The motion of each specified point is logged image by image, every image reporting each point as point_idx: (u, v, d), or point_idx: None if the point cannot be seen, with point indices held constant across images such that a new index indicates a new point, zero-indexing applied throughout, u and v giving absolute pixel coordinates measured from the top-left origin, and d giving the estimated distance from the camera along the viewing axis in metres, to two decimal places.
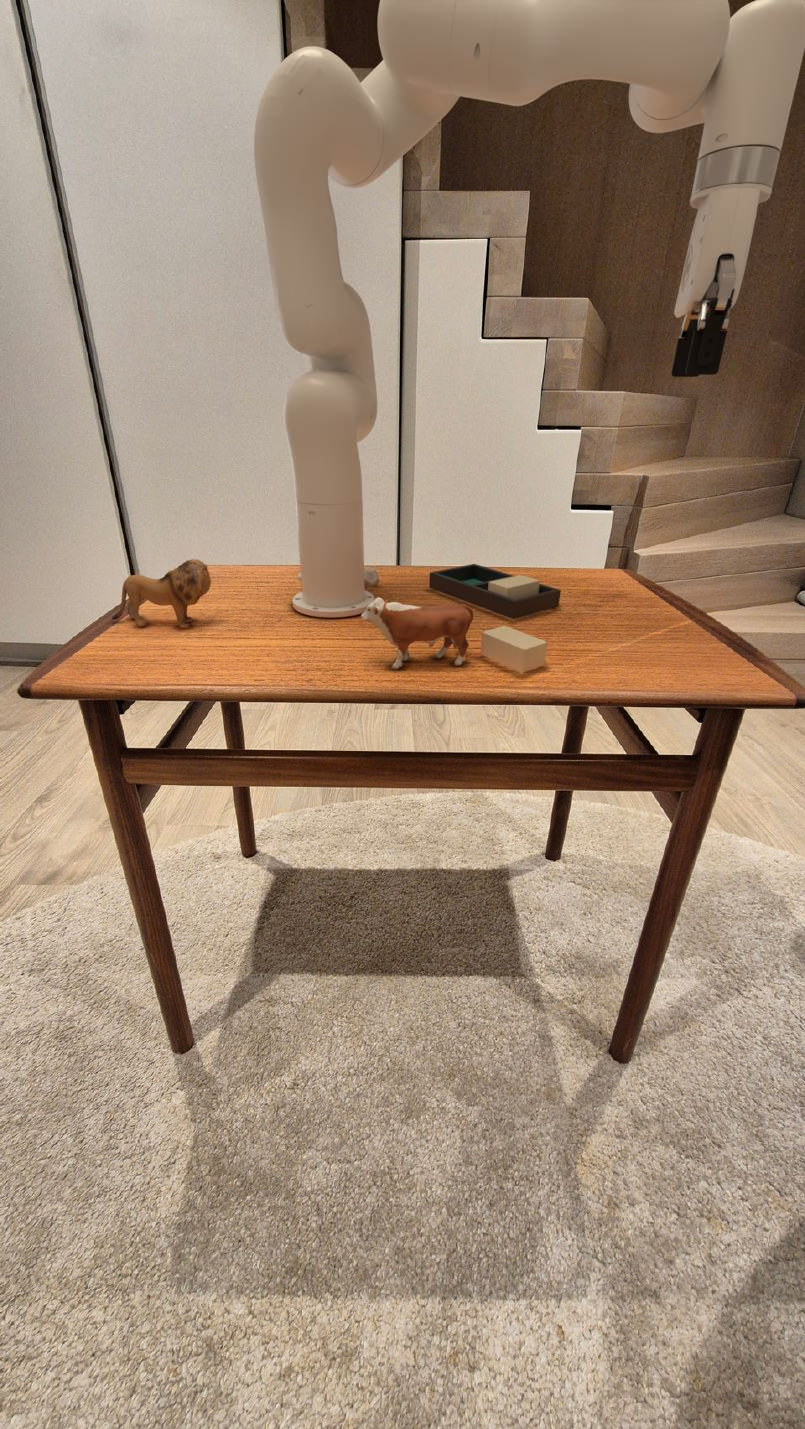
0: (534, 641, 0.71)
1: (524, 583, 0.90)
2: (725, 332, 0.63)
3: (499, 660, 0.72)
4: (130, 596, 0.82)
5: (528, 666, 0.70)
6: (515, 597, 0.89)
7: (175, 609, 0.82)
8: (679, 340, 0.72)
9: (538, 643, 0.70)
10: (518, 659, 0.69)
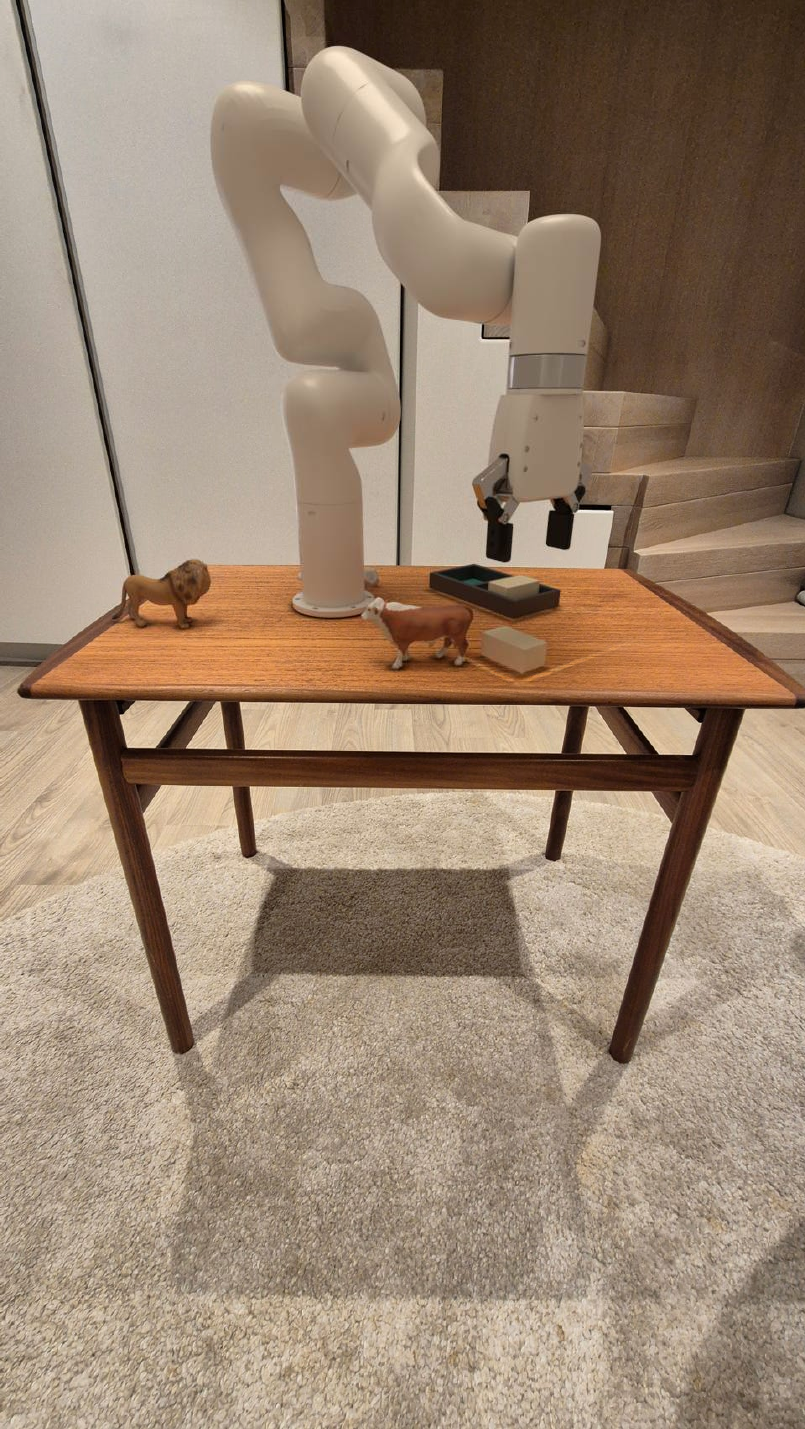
0: (534, 641, 0.71)
1: (524, 583, 0.90)
2: (508, 525, 0.61)
3: (499, 660, 0.72)
4: (130, 596, 0.82)
5: (528, 666, 0.70)
6: (515, 597, 0.89)
7: (175, 609, 0.82)
8: (549, 512, 0.69)
9: (538, 643, 0.70)
10: (518, 659, 0.69)
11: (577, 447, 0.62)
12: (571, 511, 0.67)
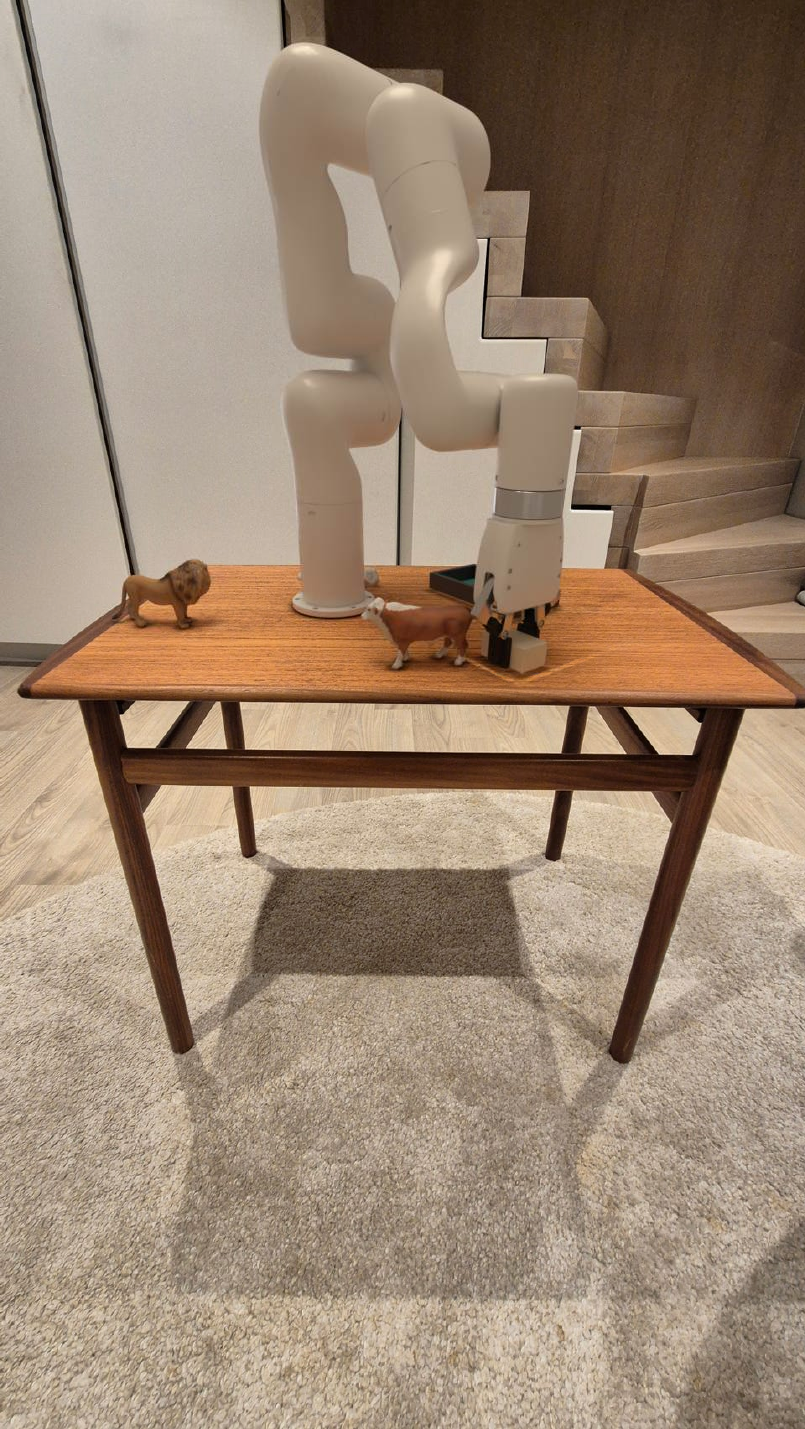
0: (534, 641, 0.71)
1: None
2: (508, 639, 0.69)
3: None
4: (130, 596, 0.82)
5: (528, 666, 0.70)
6: None
7: (175, 609, 0.82)
8: (518, 625, 0.74)
9: (538, 643, 0.70)
10: (518, 659, 0.69)
11: (557, 562, 0.68)
12: (537, 627, 0.72)
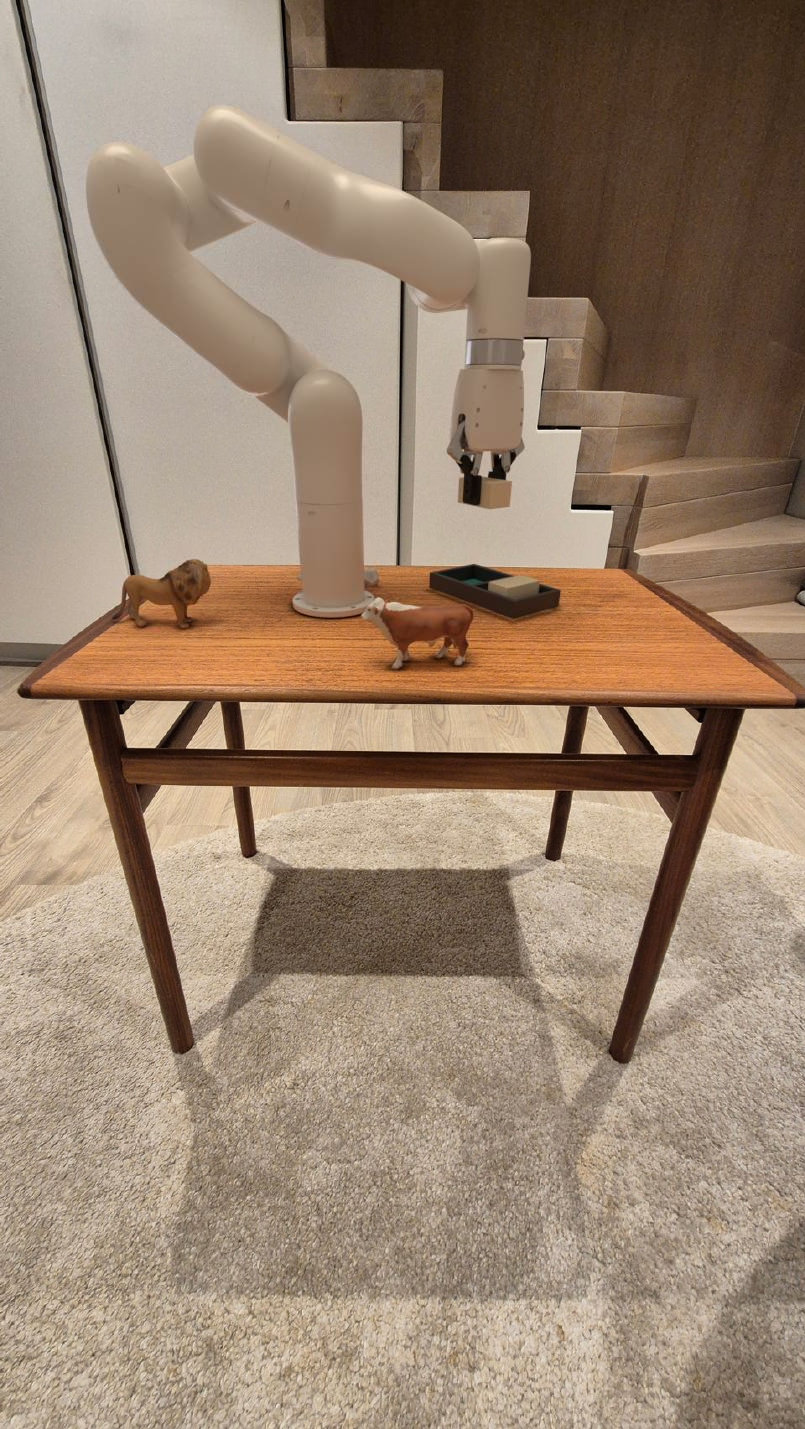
0: (500, 480, 0.85)
1: (524, 583, 0.90)
2: (478, 476, 0.84)
3: None
4: (130, 596, 0.82)
5: (495, 500, 0.85)
6: (515, 597, 0.89)
7: (175, 609, 0.82)
8: (488, 473, 0.88)
9: (504, 481, 0.84)
10: (487, 493, 0.84)
11: (519, 410, 0.82)
12: (504, 471, 0.87)
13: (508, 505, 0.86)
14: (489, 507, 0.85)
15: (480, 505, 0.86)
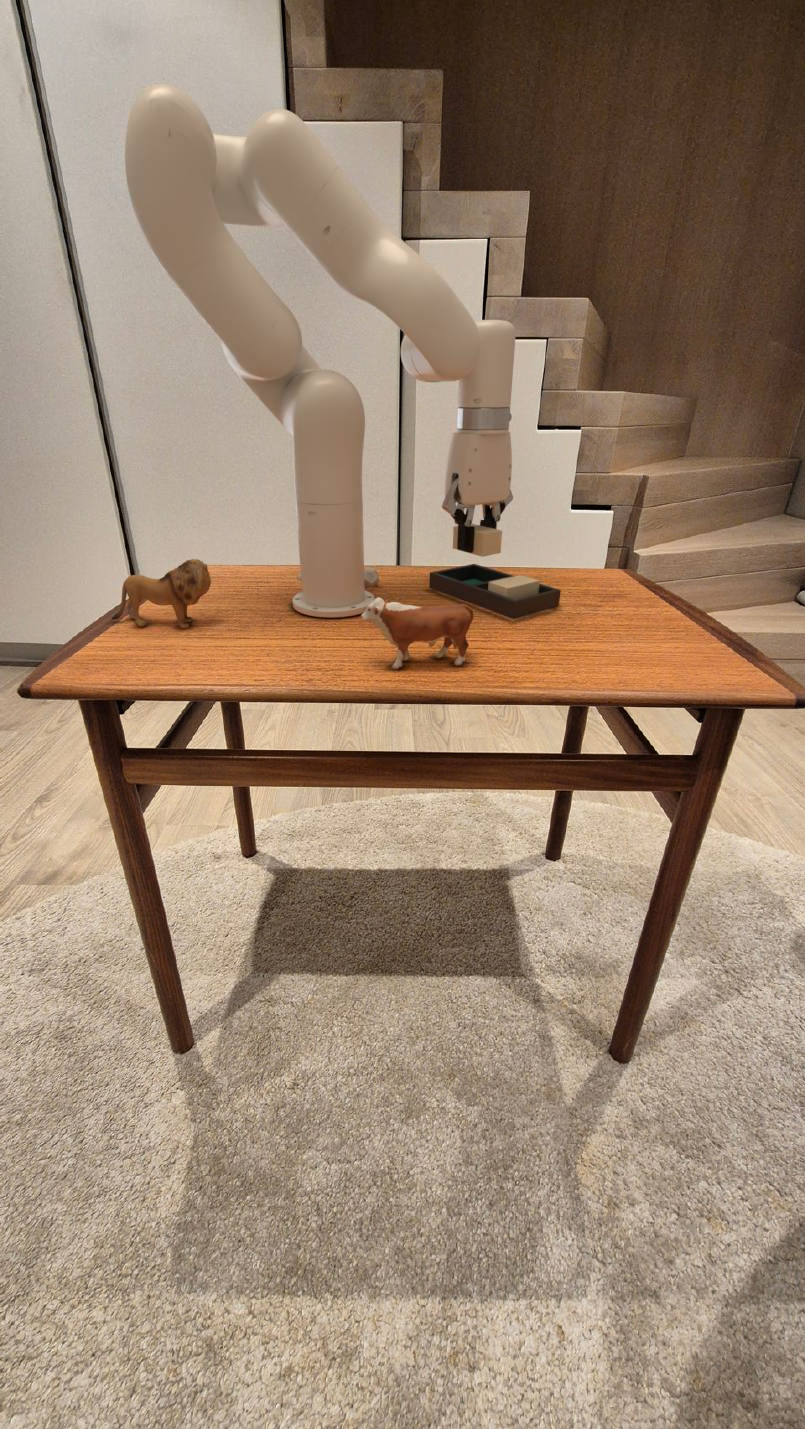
0: (492, 530, 0.93)
1: (524, 583, 0.90)
2: (471, 527, 0.92)
3: None
4: (130, 596, 0.82)
5: (487, 548, 0.92)
6: (515, 597, 0.89)
7: (175, 609, 0.82)
8: (480, 521, 0.96)
9: (494, 531, 0.92)
10: (479, 543, 0.92)
11: (507, 467, 0.90)
12: (495, 521, 0.94)
13: (499, 552, 0.94)
14: (481, 555, 0.92)
15: (473, 552, 0.94)
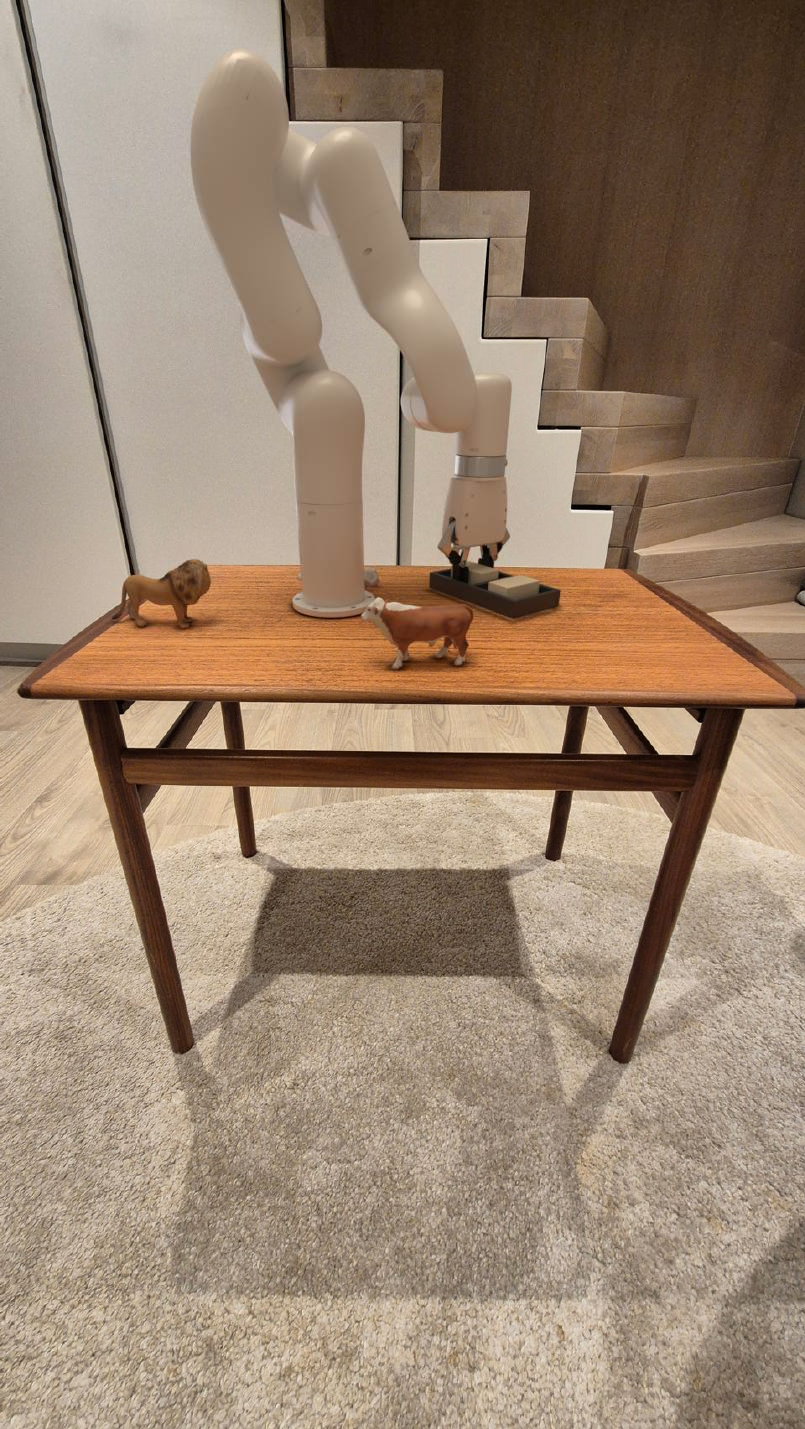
0: (488, 569, 0.96)
1: (524, 583, 0.90)
2: (465, 568, 0.94)
3: None
4: (130, 596, 0.82)
5: None
6: (515, 597, 0.89)
7: (175, 609, 0.82)
8: (478, 559, 0.99)
9: (491, 570, 0.95)
10: (477, 582, 0.95)
11: (503, 511, 0.93)
12: (492, 560, 0.98)
13: None
14: None
15: None
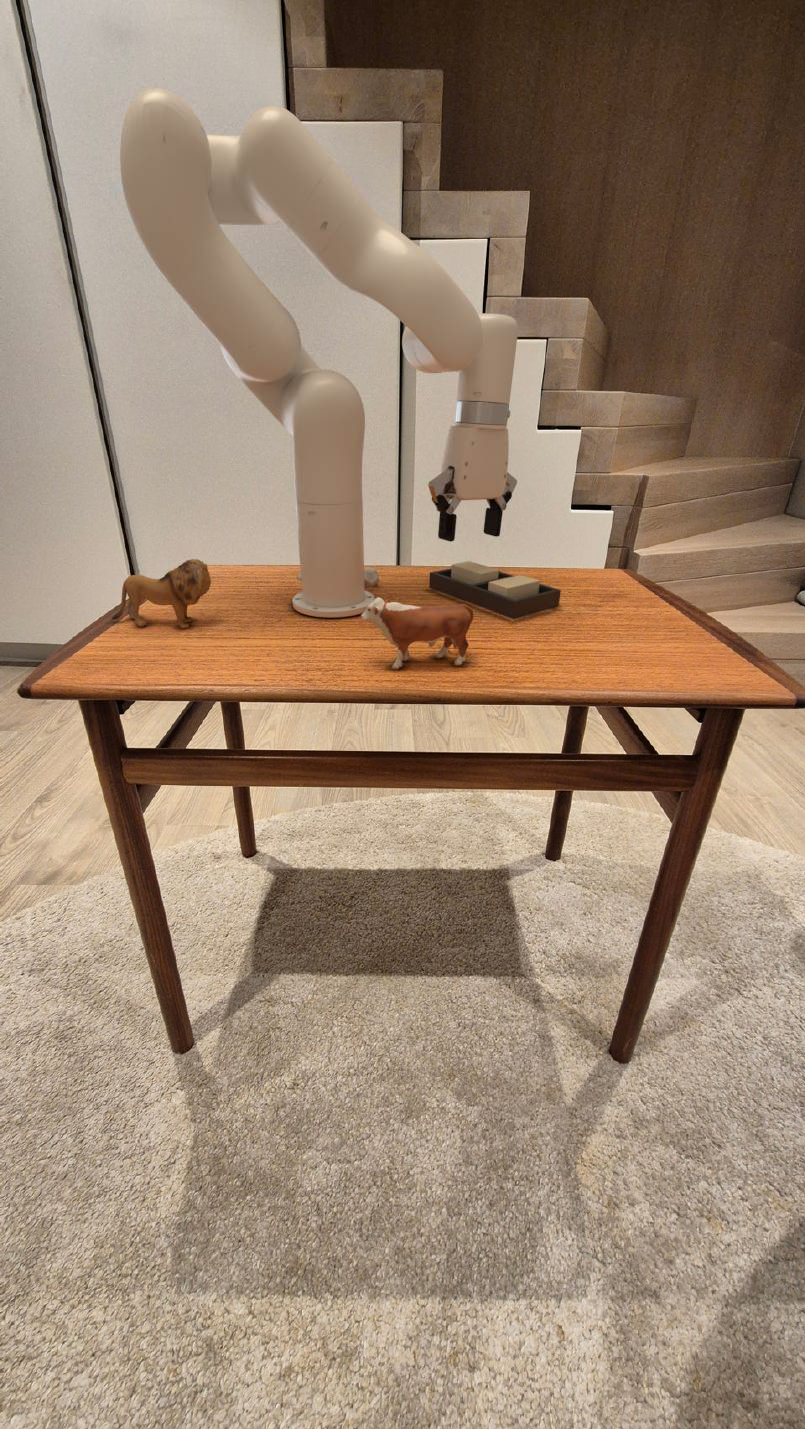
0: (488, 569, 0.96)
1: (524, 583, 0.90)
2: (453, 515, 0.89)
3: None
4: (130, 596, 0.82)
5: None
6: (515, 597, 0.89)
7: (175, 609, 0.82)
8: (486, 509, 0.96)
9: (491, 570, 0.95)
10: (477, 582, 0.95)
11: (503, 464, 0.90)
12: (500, 509, 0.95)
13: None
14: None
15: None
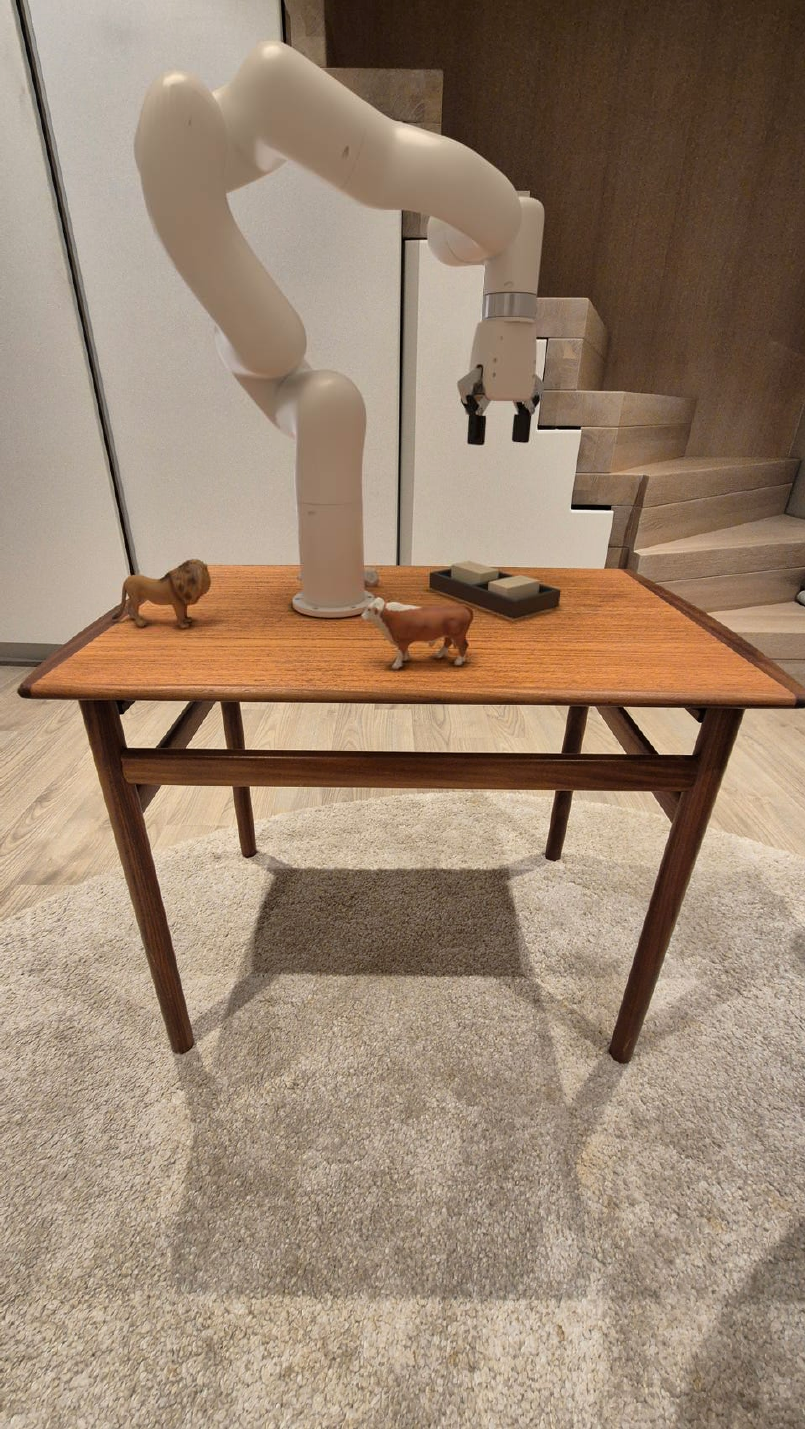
0: (488, 569, 0.96)
1: (524, 583, 0.90)
2: (482, 416, 0.88)
3: None
4: (130, 596, 0.82)
5: None
6: (515, 597, 0.89)
7: (175, 609, 0.82)
8: (514, 415, 0.95)
9: (491, 570, 0.95)
10: (477, 582, 0.95)
11: (532, 363, 0.89)
12: (529, 413, 0.93)
13: None
14: None
15: None
